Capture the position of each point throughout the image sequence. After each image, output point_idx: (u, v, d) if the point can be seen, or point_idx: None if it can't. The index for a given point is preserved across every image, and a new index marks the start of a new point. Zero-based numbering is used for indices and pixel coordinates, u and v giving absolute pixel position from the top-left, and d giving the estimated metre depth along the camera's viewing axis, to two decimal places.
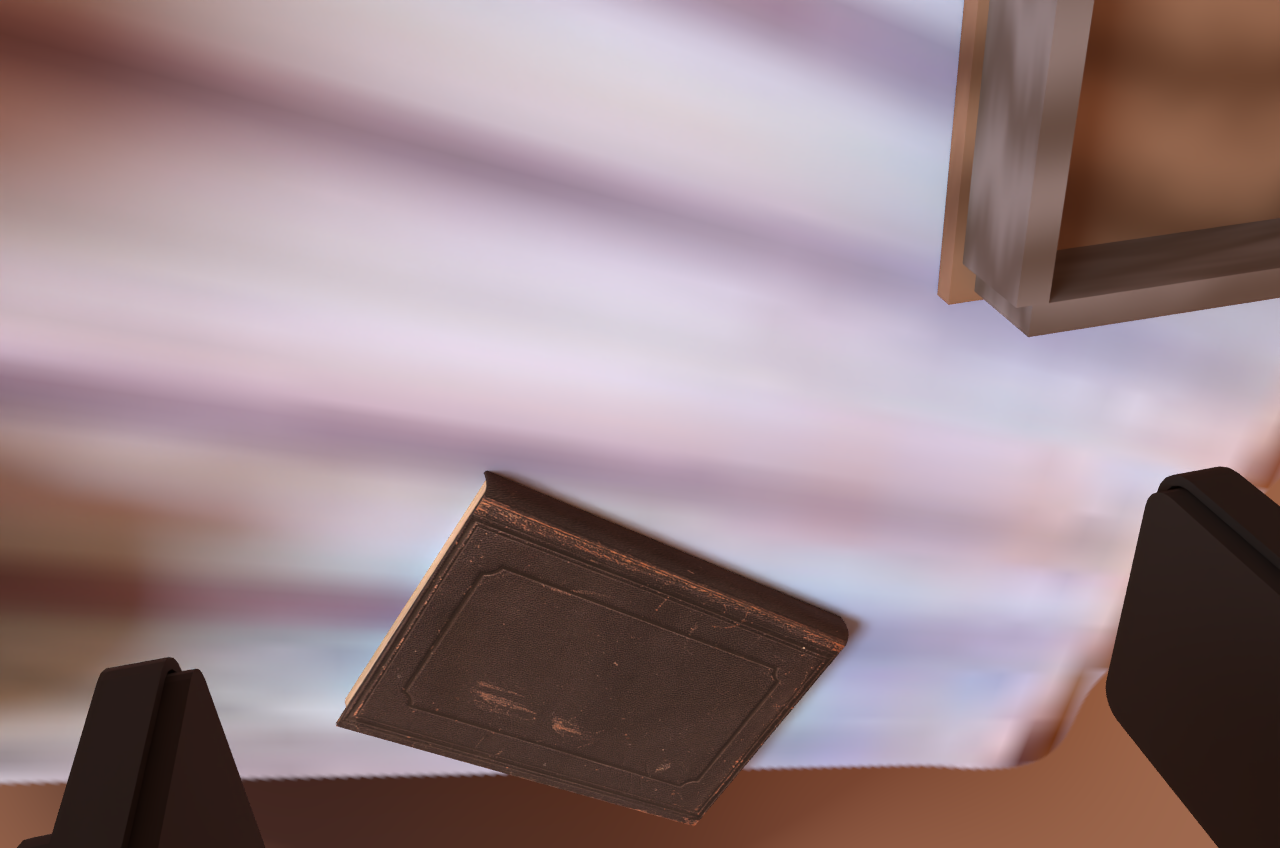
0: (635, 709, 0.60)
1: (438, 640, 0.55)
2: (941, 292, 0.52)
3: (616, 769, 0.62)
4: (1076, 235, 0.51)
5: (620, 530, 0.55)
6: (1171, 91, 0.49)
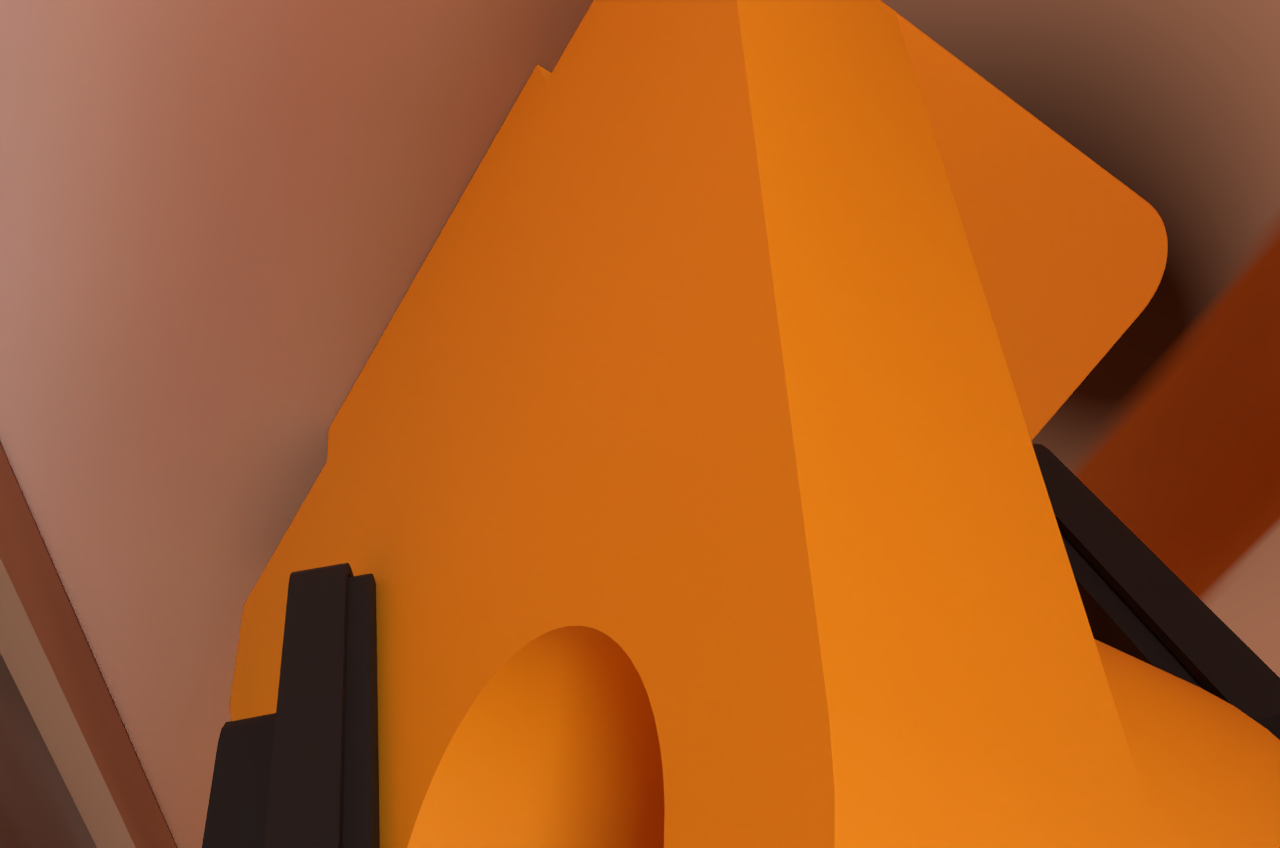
0: None
1: None
2: None
3: None
4: None
5: None
6: None
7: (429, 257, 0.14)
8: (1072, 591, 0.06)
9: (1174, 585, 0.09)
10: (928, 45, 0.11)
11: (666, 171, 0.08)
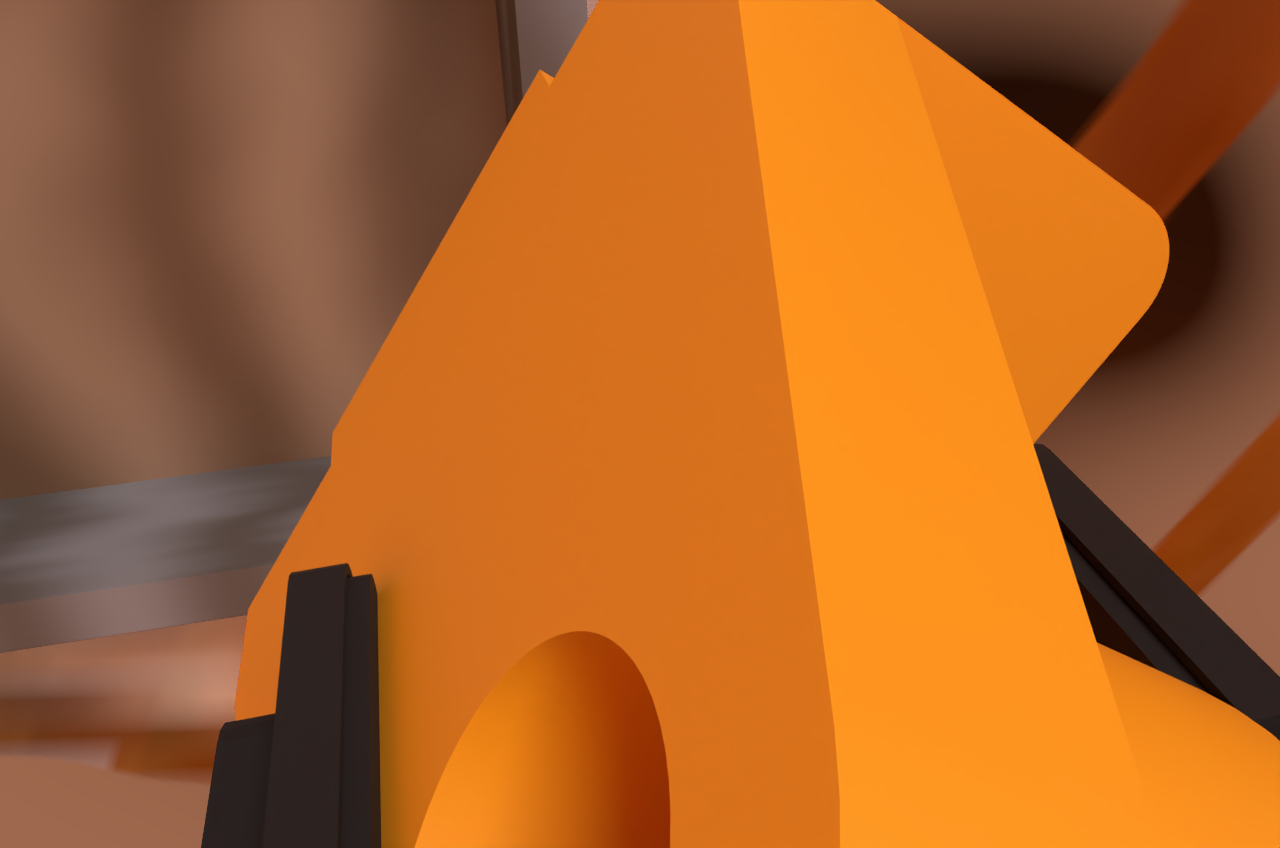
0: None
1: None
2: None
3: None
4: None
5: None
6: (111, 38, 0.26)
7: (432, 262, 0.14)
8: (1075, 595, 0.06)
9: (1175, 585, 0.09)
10: (929, 50, 0.11)
11: (669, 179, 0.08)
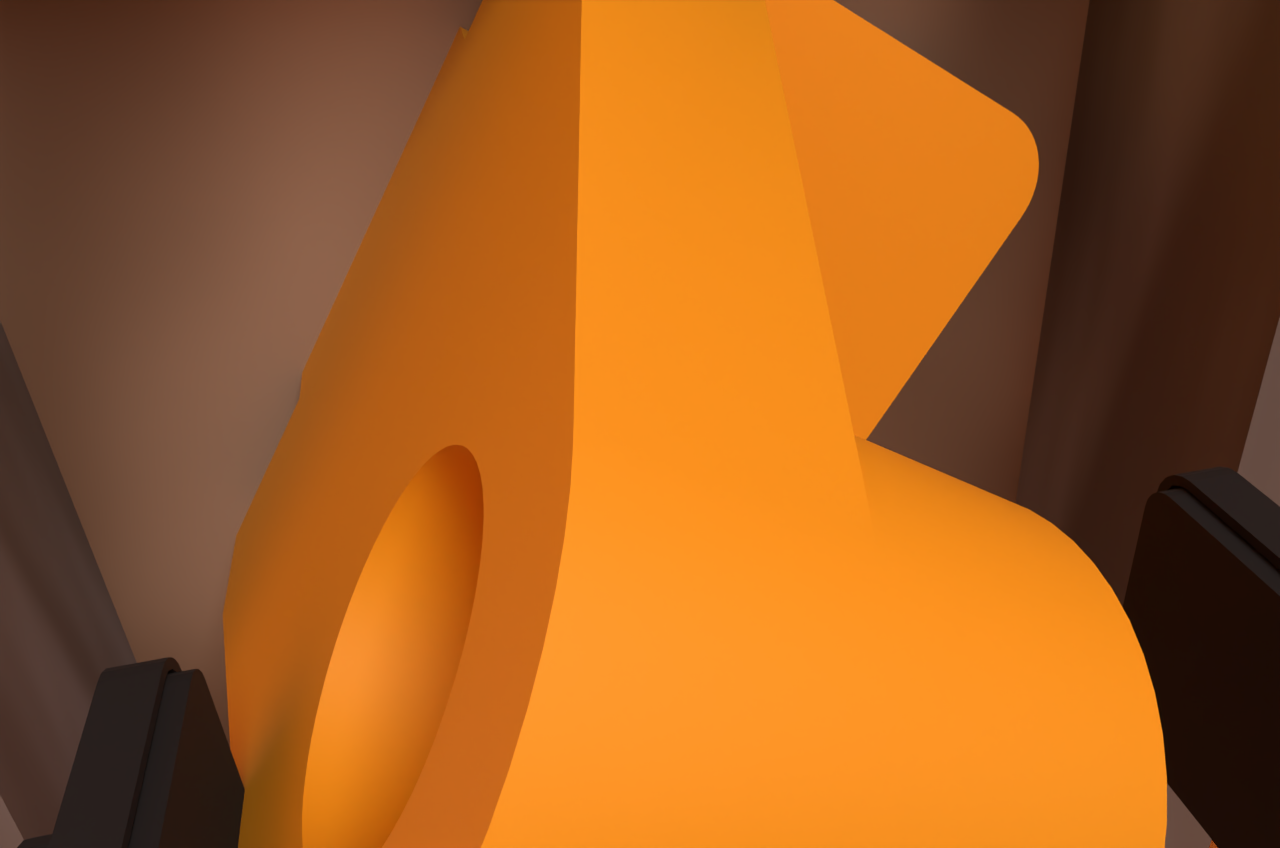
0: None
1: None
2: None
3: None
4: None
5: None
6: None
7: (378, 208, 0.15)
8: (836, 389, 0.08)
9: None
10: None
11: (528, 89, 0.10)
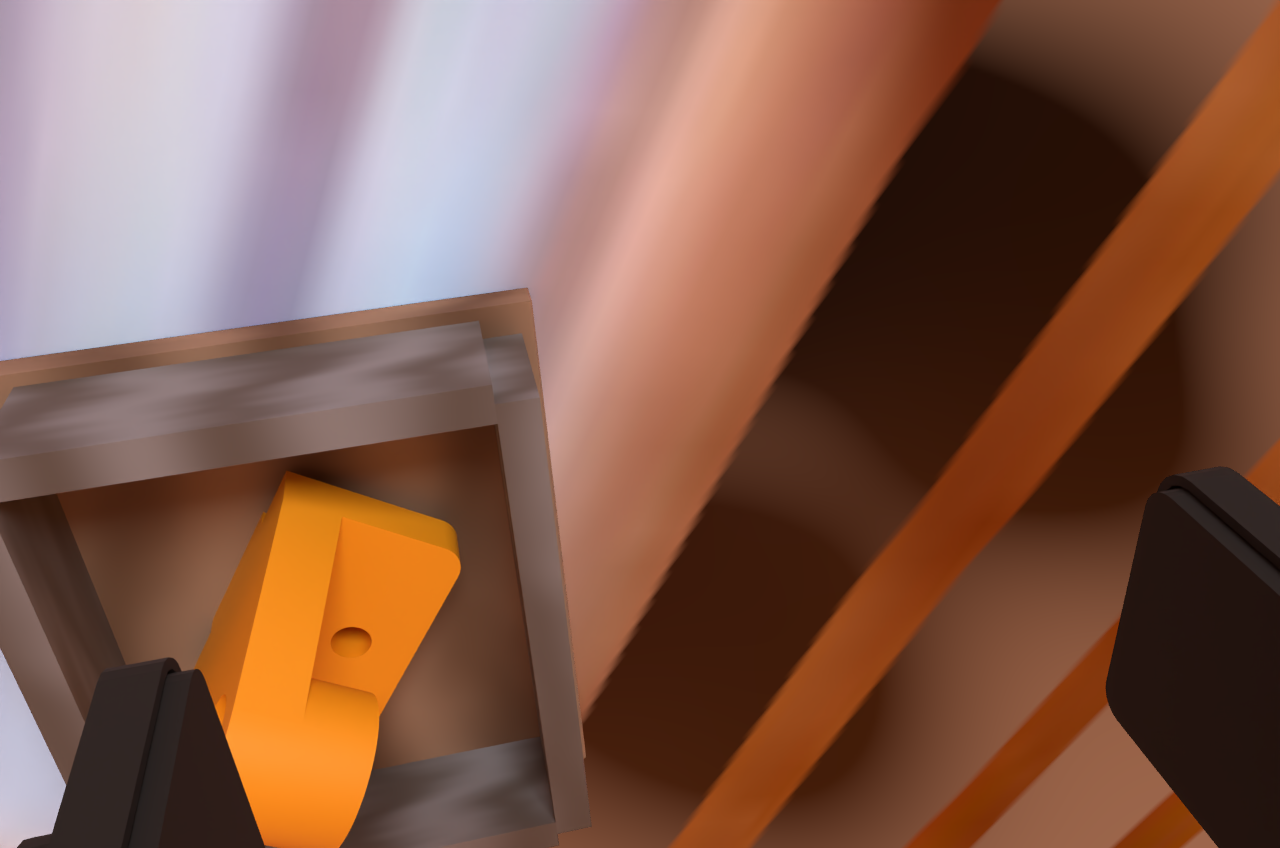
0: None
1: None
2: None
3: None
4: (84, 517, 0.41)
5: None
6: None
7: (237, 567, 0.43)
8: (307, 684, 0.35)
9: None
10: (356, 522, 0.40)
11: (255, 590, 0.37)
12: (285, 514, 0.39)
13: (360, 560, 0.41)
